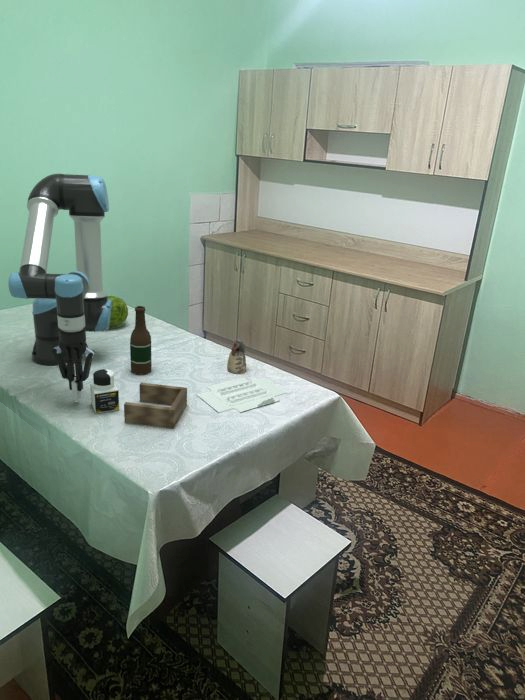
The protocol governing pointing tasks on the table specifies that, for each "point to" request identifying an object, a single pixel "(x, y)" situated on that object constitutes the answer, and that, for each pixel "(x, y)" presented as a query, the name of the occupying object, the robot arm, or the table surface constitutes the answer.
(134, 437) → the table surface
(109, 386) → the medicine bottle
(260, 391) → the tray
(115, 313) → the lettuce
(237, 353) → the figurine
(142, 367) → the beer bottle
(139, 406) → the box
